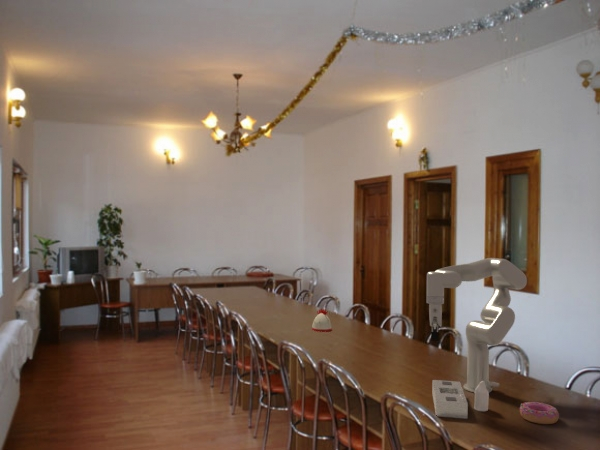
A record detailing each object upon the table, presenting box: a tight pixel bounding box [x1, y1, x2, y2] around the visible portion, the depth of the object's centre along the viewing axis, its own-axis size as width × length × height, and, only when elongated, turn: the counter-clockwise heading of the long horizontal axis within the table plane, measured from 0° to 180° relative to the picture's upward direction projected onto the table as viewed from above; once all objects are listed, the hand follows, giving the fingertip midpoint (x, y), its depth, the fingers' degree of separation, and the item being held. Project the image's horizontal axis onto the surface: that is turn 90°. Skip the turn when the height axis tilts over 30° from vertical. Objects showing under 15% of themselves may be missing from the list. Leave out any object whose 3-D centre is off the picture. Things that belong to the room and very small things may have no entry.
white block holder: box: [431, 379, 469, 420], centre depth 230 cm, size 12×30×6 cm, turn 169°
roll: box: [473, 381, 490, 412], centre depth 225 cm, size 6×12×6 cm
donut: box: [519, 401, 560, 425], centre depth 216 cm, size 14×14×5 cm
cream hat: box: [311, 308, 333, 333], centre depth 386 cm, size 14×14×15 cm
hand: (434, 338), depth 241 cm, fingers open, 9 cm apart
